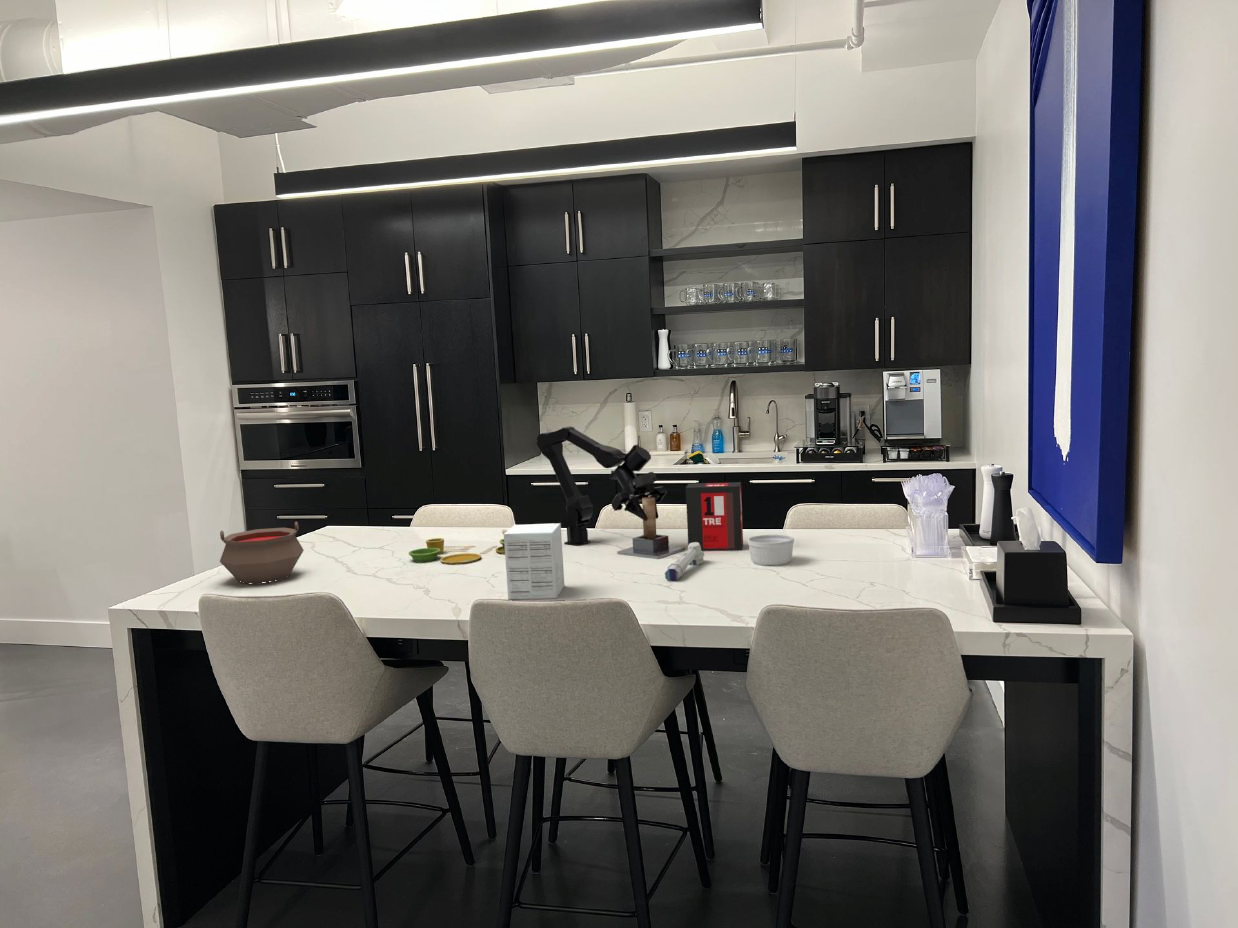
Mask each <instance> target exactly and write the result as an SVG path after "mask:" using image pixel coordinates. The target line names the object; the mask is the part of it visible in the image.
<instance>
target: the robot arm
mask: <svg viewBox="0 0 1238 928" xmlns="http://www.w3.org/2000/svg"><path fill="white" fill-rule="evenodd" d="M566 441H568V442H569V443H571V444H572V445H574V446H575V447H578V448H579V449H581V450H583V451H584V452H586V453H588V454H589V455H591V456H592V457H593V458H594V459H595V461H596V462H597V463H598V464H599V465H600V466H602V467H603V468H605V469H612V468H615V469H614V470H611V471H610V475H609V479H610V480H617V481H618V483H619V484H620V486H621V489H620V491H621V492H618V493H616V495H615V497H614V498H613V500H612V502H611V507H612V509H613V511H614V512H616V511H621V510H624V511H625V512H628V513H631V514H632V515H634V516H636V517H637V518H639V519H641V520H642V521H643V520H644V521H647V516H646V514H645V512H644V511H643V508H642V506H641V504H640V502H642V498H646V497H654V498H655V511H656V520H658V518H659V511H658V506H657V504H660V503H661V502H662V501H663V499H664V497H665V496H666V495H667V493H668V491H667V490H666V488H665V486H657V487H652V489H651V490H650V491H649V489H650V486H651V485H654V484H655V482H657V475H656V473H654V471H649V472H647V473H645V474H640V475H639V476H637V474H636V472H640V471H641V470H643V468H644V467H645V466H646V465H647V464H648V463H649V462H650V461H651V459H652V456H651V454H650V452H649V451H648V450H646V449H645V448H644V447H642V446H639V444H634V445H633V446H632V447H631V448H630V450H629V451H628V452H627V453H625V452H623V451H622V450H621V449H619V448H616V447H614V446H611V445H610V446H609V445H605V444H602V443H600V442H598V441H596V440H595V439H592V438H591V437H590V436H588V435H586V434H584V433H582V432H581V431H579V430H577V429H576V428H575V427H573V426H571V425H570V426H564V427H562V428H560V429H557V430H555V431H549V432H542V433H540V434H538V435H537V437H536V440H535V444H536V446H537V449H539V451H540V453H541V455H542V456H544V457H545V458H546V459H547V460H548V461H549V462H550V465H551V468H552V470H553V471H554V474H555V476H556V479H557V481H558V483H559V485H560V488H561V489H562V492H563V494H564V496H565V499H566V503H565V506H566V507H565V509H566V512H567V514H566V515H565V516H564V518H563V519H562V521H561V524H562V526H563V527H564V528H566V538H567V539H566V541H564V545H571V546H573V545H574V546H581V545H584V544H588V543H591V540H589V534H588V533H589V532H588V527H587V524H589V523H590V520H591V518H592V516H593V513H594V509H593V507H594V504H593V503H592V502H591V499H590V497H589V495H583V494H582V493H581V492H580V490H579V487H578V486H577V484H576V483H577V482H576V481H575V479H574V476H573V474H572V472H571V470H570V468H569V465H568V463H567V460H566V459H565V456H564V451H563V450H564V445H563V443H565V442H566ZM647 491H649V492H647ZM623 504H624V505H625V508H624V509H623V507H624V506H623Z"/></svg>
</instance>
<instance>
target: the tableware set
mask: <svg viewBox="0 0 1238 928" xmlns="http://www.w3.org/2000/svg"><path fill="white" fill-rule="evenodd" d="M507 531H508V530H507V529H502V531H501V533H502V535H504V534H505V533H506V532H507ZM425 543H426V547H424V548H417V549H412V550H410V551H408V556H410V557H411V558H412V560H413V561H414V562H416V563H428V562H432V561H436V560H437V557H438V556H439V555H443V554H444V552H448V553H454V554H450V555H445V556H443V557H441V558H439V561H440V562H441V563H443V564H445V565H463V564H464V565H465V563H466V564H470V563H471V564H472V563H475V562H478V561H479V560H480V559H481V558H482V555H486V554H489V553H490V552H492V551H493V549H494V548H495V552H496V553H497V554H501V555H505V545H504V538H502V539H499V543H500V545H501V546H499V547H497V545H492V546H490V547H489V548H487V549H485V550H482V551H480V553H470V552H469V553H466V552H468V551H470V550H471V549H474V548H477V546H476V545H465V546H464V545H463V546H458V545H457V546H456V545H455V546H452V545H451V546H450V545H449V546H447V545H445V539H444V538H443V537H436V538H435V537H434V538H430V539H427V540H425ZM455 553H456V554H455ZM474 561H475V562H474Z"/></svg>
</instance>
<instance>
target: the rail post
mask: <svg viewBox="0 0 1238 928" xmlns="http://www.w3.org/2000/svg"><path fill="white" fill-rule="evenodd" d="M641 504H642V506H641V507H642V509H643V511H644V512H645V514H646V516H647V521H644V520H643V519H642V526H643V528H642V529H643V535H644V539H656V538H657V536H656V534H657V519H656V511H655V498H654V497H646V498H642V501H641Z"/></svg>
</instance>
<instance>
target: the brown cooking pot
mask: <svg viewBox="0 0 1238 928" xmlns="http://www.w3.org/2000/svg"><path fill="white" fill-rule="evenodd" d="M299 529H300V526H299V522H298V521H295V522H294V528H288V527H274V528H259V529H258V528H257V529H252V530H246V531H241V532H235V533H231V534H229V535H227V536H225V532H224V530H220V532H219V535H220V537H219V538H220V540H221V541H222V542H223V543H224V544H225V545H224V549H223V551H222V554H221V555H220V556H221V557H220V559H219V563H220V564H221V565H223V567H225V569H226V570H227V571H228V572H229V573H230V574H231V575H232V576H233V577H234V578H235V580H236V581H238V582H239V581H241V582H244V583H262V582H269V581H275V580H279V581H282V580H281V579H283V580H285V579H287V578H288V577H289V576H290V575H291V573H292V572H293V570H294V568H295V566H296V565H297V563H298V561H299V560H300V558H301V556H302V554H303V553H304V551H305V550H304V548H303V546H302V544H301V543H300V542H299V540H298V538H297V536H296V534H297V533H298V531H299ZM287 576H288V577H287ZM286 577H287V578H286ZM275 582H276V581H275ZM244 583H243V584H244Z"/></svg>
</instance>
